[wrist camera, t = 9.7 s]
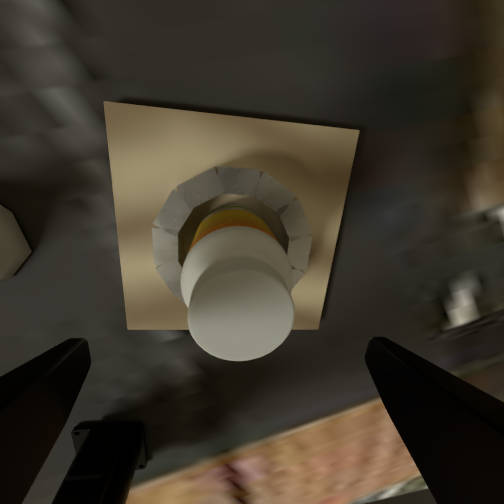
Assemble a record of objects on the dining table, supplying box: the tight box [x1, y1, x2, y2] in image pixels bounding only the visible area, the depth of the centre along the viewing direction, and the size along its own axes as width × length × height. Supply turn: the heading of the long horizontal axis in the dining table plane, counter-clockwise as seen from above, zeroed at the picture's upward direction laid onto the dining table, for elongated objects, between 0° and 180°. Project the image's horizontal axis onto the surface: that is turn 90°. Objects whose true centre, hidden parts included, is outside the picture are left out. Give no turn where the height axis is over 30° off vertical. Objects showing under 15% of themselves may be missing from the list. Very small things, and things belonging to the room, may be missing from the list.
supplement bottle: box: [181, 205, 295, 361], centre depth 13 cm, size 5×5×10 cm
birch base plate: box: [104, 101, 360, 330], centre depth 18 cm, size 16×16×1 cm
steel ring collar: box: [152, 166, 312, 303], centre depth 17 cm, size 10×10×2 cm
